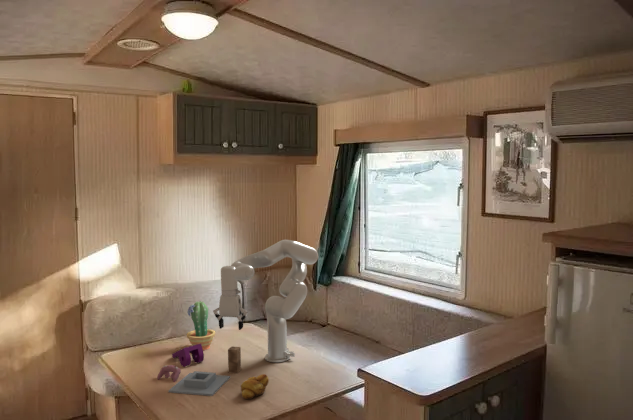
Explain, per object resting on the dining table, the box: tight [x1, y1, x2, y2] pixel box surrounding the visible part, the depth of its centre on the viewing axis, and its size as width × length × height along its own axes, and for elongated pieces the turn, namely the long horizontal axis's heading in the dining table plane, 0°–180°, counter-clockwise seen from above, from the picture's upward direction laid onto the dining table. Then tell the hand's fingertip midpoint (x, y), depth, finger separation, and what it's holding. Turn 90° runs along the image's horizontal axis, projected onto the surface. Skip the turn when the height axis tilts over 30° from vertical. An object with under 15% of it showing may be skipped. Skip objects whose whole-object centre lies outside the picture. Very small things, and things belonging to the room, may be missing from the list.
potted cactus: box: [186, 300, 216, 351], centre depth 275 cm, size 15×15×25 cm
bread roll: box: [240, 373, 270, 400], centre depth 215 cm, size 13×10×8 cm
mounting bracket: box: [171, 344, 205, 368], centre depth 255 cm, size 9×8×18 cm
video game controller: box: [157, 364, 181, 383], centre depth 233 cm, size 10×5×7 cm, turn 71°
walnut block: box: [227, 346, 242, 374], centre depth 241 cm, size 4×4×11 cm
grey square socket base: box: [168, 370, 231, 397], centre depth 226 cm, size 20×20×4 cm
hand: (231, 328), depth 240 cm, fingers open, 9 cm apart
